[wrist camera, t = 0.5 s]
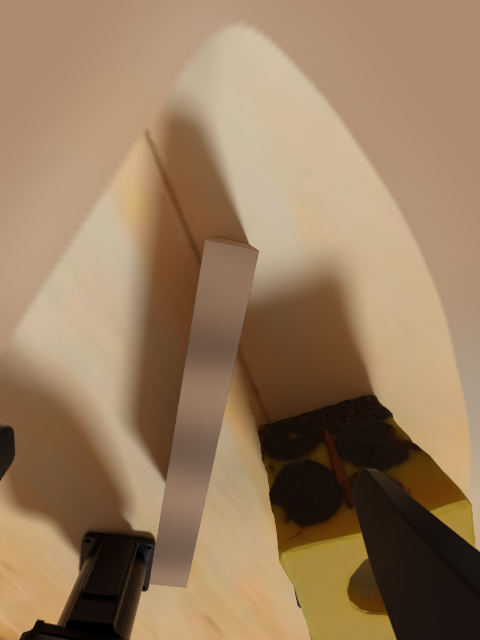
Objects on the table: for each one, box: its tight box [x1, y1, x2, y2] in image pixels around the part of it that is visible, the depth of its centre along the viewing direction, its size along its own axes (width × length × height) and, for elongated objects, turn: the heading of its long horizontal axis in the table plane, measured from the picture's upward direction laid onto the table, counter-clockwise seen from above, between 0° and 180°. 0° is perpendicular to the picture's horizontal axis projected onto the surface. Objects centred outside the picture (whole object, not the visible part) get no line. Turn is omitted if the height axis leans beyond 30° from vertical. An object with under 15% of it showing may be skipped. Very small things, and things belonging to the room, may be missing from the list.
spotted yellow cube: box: [258, 395, 475, 640], centre depth 20 cm, size 10×10×10 cm
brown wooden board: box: [150, 237, 259, 588], centre depth 19 cm, size 22×2×7 cm, turn 169°
